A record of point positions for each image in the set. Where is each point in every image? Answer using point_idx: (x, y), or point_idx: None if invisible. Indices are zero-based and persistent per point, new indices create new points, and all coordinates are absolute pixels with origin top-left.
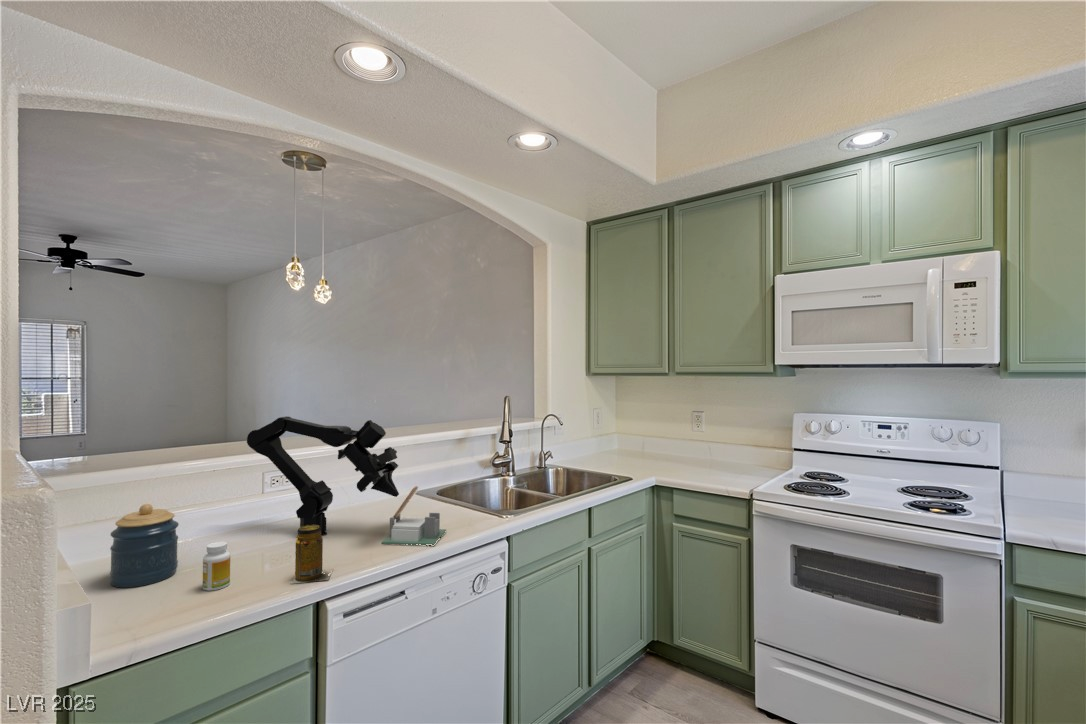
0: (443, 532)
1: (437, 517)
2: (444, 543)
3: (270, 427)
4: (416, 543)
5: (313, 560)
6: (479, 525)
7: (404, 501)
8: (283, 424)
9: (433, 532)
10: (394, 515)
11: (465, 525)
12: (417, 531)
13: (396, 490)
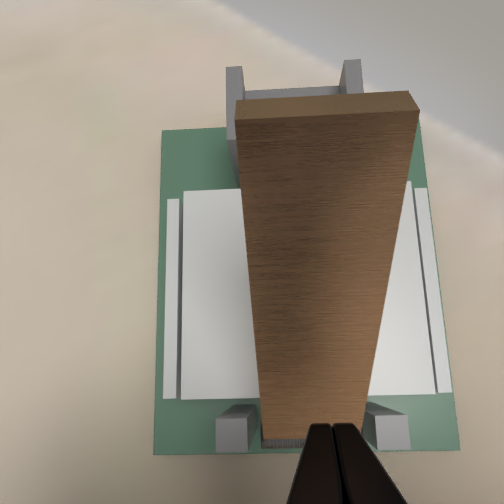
0: (219, 128)
1: (244, 96)
2: None
3: None
4: (430, 214)
5: None
6: (40, 7)
7: (383, 302)
8: None
9: None
10: (361, 421)
11: (41, 74)
12: (426, 195)
13: (337, 478)
